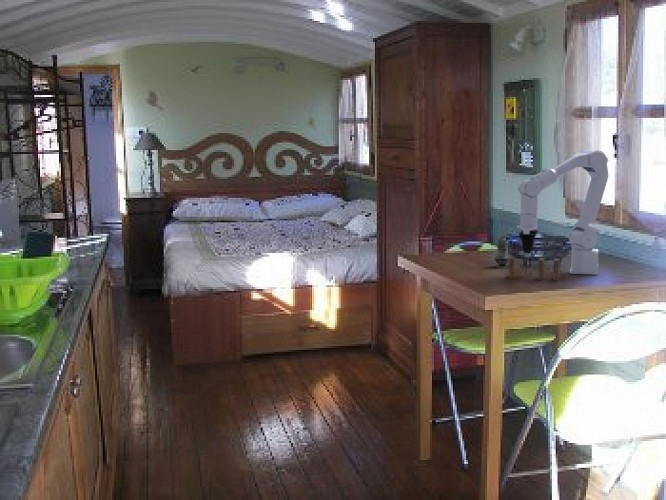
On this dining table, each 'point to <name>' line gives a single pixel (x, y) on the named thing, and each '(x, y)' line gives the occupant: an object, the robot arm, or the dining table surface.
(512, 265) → the domino
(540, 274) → the domino
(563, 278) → the dining table surface
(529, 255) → the domino
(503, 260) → the salt shaker
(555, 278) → the domino
